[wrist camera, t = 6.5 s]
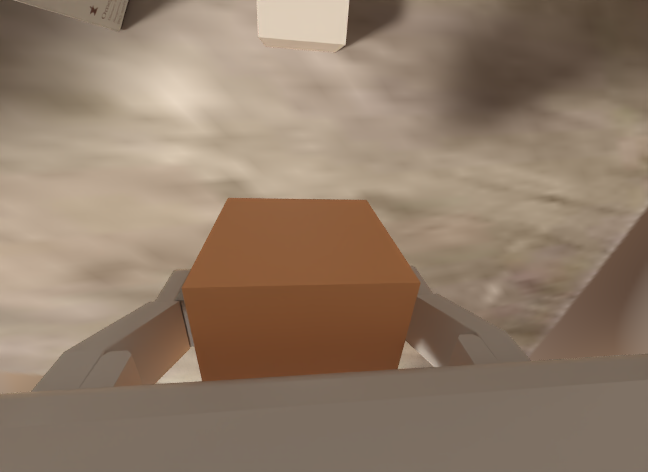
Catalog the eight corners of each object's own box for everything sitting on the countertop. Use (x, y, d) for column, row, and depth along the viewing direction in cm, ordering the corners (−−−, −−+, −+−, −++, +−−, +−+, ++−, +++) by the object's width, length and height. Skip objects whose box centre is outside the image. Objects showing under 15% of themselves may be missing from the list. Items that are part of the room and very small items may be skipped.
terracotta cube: (227, 197, 10) (181, 287, 6) (366, 199, 11) (420, 282, 6) (239, 306, 12) (212, 429, 8) (352, 303, 13) (384, 415, 9)
